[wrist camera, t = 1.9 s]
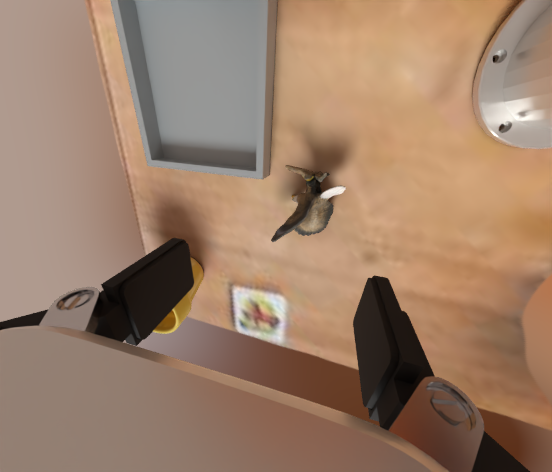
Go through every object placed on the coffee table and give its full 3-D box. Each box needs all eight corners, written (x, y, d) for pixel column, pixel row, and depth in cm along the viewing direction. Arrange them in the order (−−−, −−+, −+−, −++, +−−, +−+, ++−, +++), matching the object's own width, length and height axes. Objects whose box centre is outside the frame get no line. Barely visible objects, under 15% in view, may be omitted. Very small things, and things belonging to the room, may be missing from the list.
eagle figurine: (272, 163, 24) (261, 234, 27) (299, 165, 18) (281, 258, 20) (325, 173, 27) (310, 236, 29) (364, 178, 20) (341, 257, 23)
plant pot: (199, 299, 40) (164, 344, 32) (156, 268, 39) (108, 305, 31) (223, 270, 35) (188, 314, 26) (174, 234, 34) (122, 266, 25)
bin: (278, -15, 18) (269, -41, 15) (269, 174, 26) (262, 179, 23) (133, -5, 21) (104, -25, 18) (164, 163, 28) (147, 166, 26)
